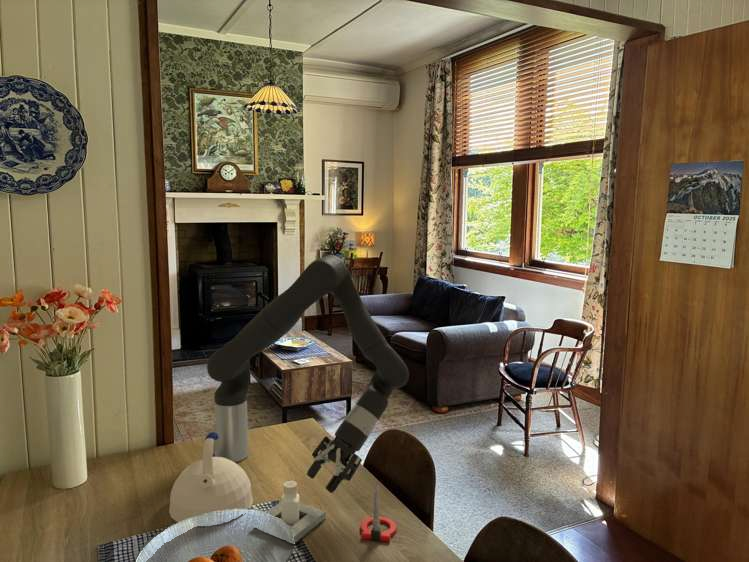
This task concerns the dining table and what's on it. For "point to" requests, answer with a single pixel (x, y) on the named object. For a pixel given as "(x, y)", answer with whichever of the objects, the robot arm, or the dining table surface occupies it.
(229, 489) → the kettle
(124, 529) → the dining table surface
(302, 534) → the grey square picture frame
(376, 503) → the tow hook
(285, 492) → the salt shaker
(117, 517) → the dining table surface
